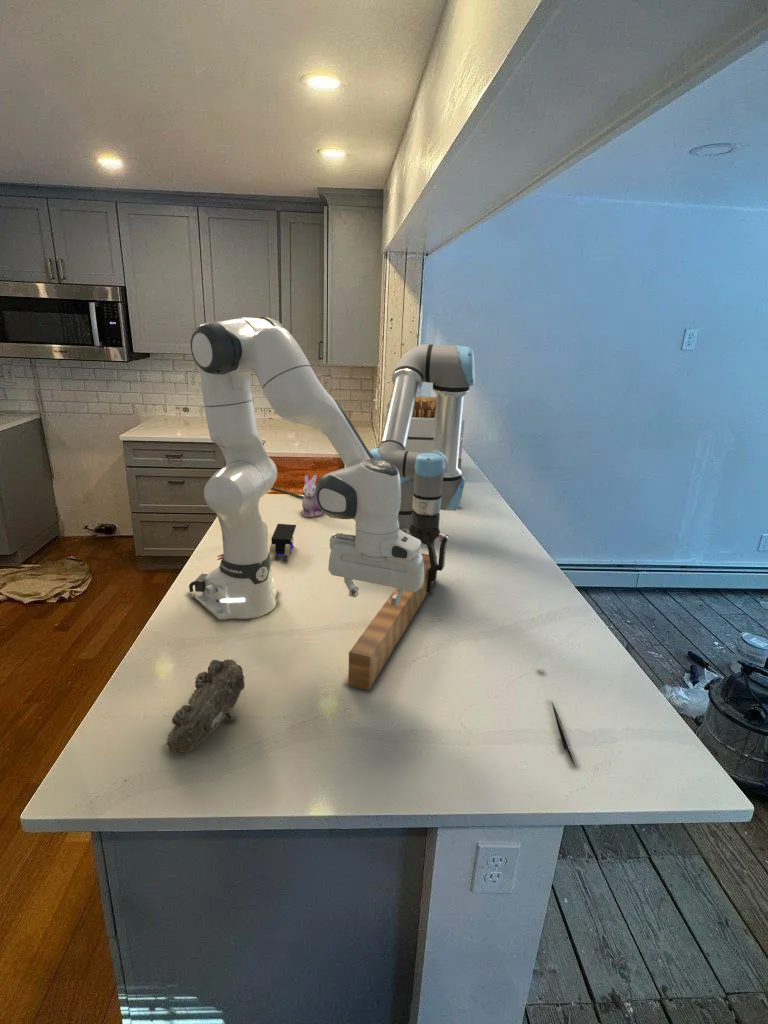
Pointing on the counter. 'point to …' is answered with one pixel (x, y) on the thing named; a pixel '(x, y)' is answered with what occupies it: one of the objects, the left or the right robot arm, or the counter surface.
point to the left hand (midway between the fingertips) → (374, 600)
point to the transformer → (425, 427)
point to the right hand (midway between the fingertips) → (420, 588)
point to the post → (384, 634)
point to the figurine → (310, 498)
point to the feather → (562, 734)
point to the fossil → (206, 705)
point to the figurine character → (282, 540)
